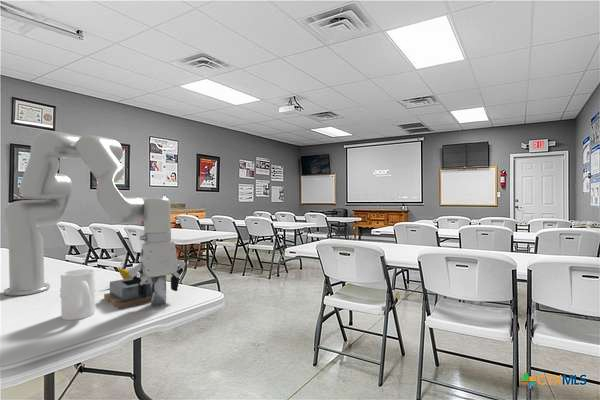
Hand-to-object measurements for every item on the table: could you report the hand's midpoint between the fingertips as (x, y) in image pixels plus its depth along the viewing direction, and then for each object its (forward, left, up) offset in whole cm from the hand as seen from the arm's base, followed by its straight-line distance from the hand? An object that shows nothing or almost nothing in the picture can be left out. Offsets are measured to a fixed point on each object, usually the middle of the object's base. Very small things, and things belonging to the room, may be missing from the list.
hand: (159, 293), depth 106 cm
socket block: (-11, -3, -2) cm, 12 cm away
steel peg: (0, 0, -3) cm, 3 cm away
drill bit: (-31, +2, -4) cm, 31 cm away
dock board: (-11, -3, -3) cm, 12 cm away
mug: (-5, -20, -4) cm, 21 cm away
